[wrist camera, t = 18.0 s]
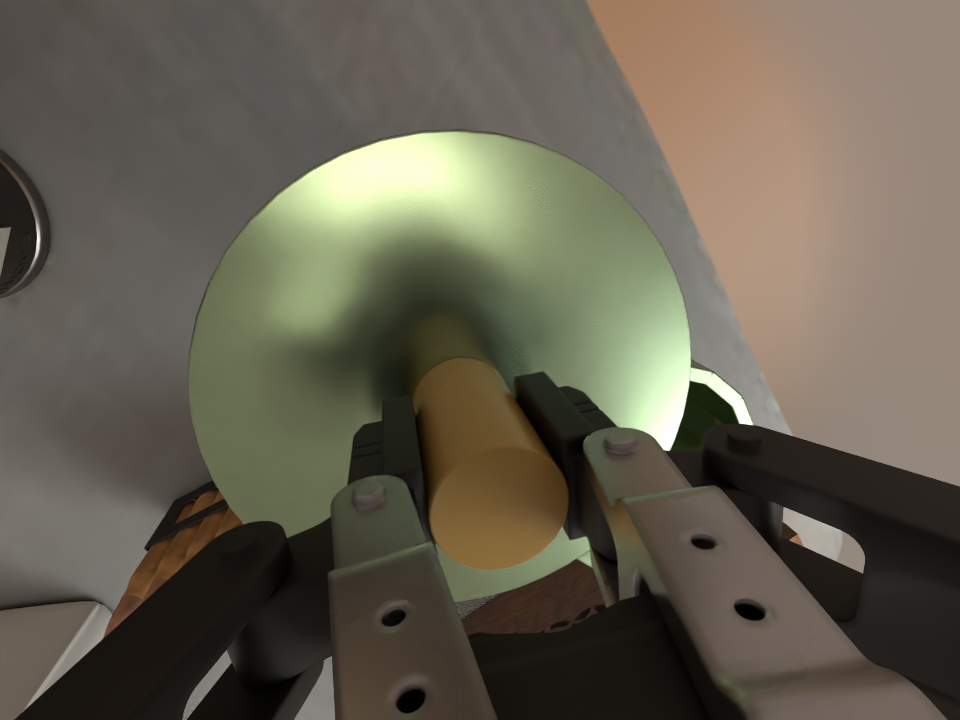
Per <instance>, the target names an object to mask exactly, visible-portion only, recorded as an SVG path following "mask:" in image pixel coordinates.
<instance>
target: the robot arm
mask: <svg viewBox="0 0 960 720" xmlns="http://www.w3.org/2000/svg"><path fill="white" fill-rule="evenodd" d="M49 247H50V225H49V219H48V215H47V212H46V209H45V206H44V204H43V201H42V199H41V197H40V195H39V193H38V191H37V190H36V188H35V186H34V185H33V183H32V182H31V180H30V179H29V178H28V177H27V175H26V174H25V173H24V172H23V171H22V169H21V168H20V167H19V166H18V165H17V164H16V163H15V162H14V161H13V160H11V159H10V158H9V157H8V156H7V155H6V154H4V153H3V152H2V151H1V150H0V298H3V297H6V296H9V295H11V294H13V293H15V292H17V291H19V290H21V289H22V288H24V287H25V286H27V285H28V284H29V283H30V282H31V281H32V280H33V279H34V278H35V277H36V276H37V275H38V273H39V272H40V270H41V269H42V267H43V265H44V263H45V261H46V258H47V255H48V252H49ZM514 389H515V398H516V400H517V402H518V403H519V405H520V407H521V408H522V410H523V411H524V413H525V414H526V416H527V418H528V419H529V421H530V422H531V424H532V425H533V427H534V429H535V430H536V432H537V433H538V435H539V437H540V438H541V440H542V441H543V443H544V444H545V446H546V448H547V449H548V451H549V452H550V454H551V455H552V457H553V459H554V460H555V462H556V463H557V465H558V467H559V468H560V470H561V471H562V473H563V475H564V477H565V479H566V482H567V485H568V491H569V507H568V513H567V516H566V520H565V522H564V524H563V529H564V531H565V533H566V534H567V536H568V538H569V540H574V539H578V538H583V537H587V539H588V540H589V545H590V560H591V565H592V568H593V571H594V574H595V576H596V579H597V582H598V585H599V588H600V591H601V594H602V597H603V600H604V603H605V605H606V609H604V610H602V611H600V612H598V613H596V614H594V615H592V616H591V617H589V618H587V619H585V620H583V621H581V622H579V623H577V624H576V625H574V626H572V627H570V628H568V629H566V630H564V631H560V632H552V633H511V634H483V635H479V636H475V637H471V638H468V637H467V635H466V632H465V629H464V627H463V624H462V621H461V618H460V616H459V613H458V610H457V607H456V605H455V602H454V599H453V597H452V594H451V591H450V588H449V586H448V583H447V580H446V578H445V575H444V572H443V569H442V567H441V564H440V561H439V557H438V550H437V544H436V542H435V541H434V539H433V536H432V534H431V532H430V528H429V524H428V515H427V510H428V501H427V494H426V487H425V479H424V472H423V465H422V458H421V451H420V443H419V436H418V429H417V422H416V415H415V410H414V405H413V399H412V396H406V397H401V398H396V399H390V400H385V401H382V421H378V422H373V423H368V424H363V426H362V427H361V428H360V429H359V430H358V431H357V432H356V434H355V435H354V436H353V444H352V452H351V459H350V467H349V475H348V483H347V486H346V487H344V488H343V489H341V490H340V491H339V492H338V493H337V494H336V495H335V496H334V498H333V499H332V501H331V504H330V512H331V517H329V518H328V519H326V520H325V521H323V522H322V523H320V524H318V525H316V526H314V527H312V528H310V529H307V530H305V531H303V532H300V533H298V534H295V535H293V536H291V537H288V538H287V537H286V533H285V530H284V528H283V527H282V526H281V525H280V524H278V523H276V522H272V521H255V522H250V523H246V524H243V525H240V526H237V527H234V528H232V529H230V530H228V531H226V532H224V533H222V534H221V535H219V536H217V537H216V538H214V539H213V540H212V541H210V542H209V543H208V544H207V545H206V546H205V547H203V548H202V549H201V550H200V551H199V552H198V553H197V554H196V555H195V556H194V557H192V558H191V559H190V560H189V561H188V562H187V563H186V564H185V565H184V566H183V567H181V568H180V569H179V570H178V571H177V572H176V573H175V574H174V575H173V576H172V577H170V578H169V579H168V580H167V581H166V582H165V583H164V584H163V585H162V586H161V587H159V588H158V589H157V590H156V591H155V592H154V593H153V594H152V595H151V596H150V597H148V598H147V599H146V600H145V601H144V602H143V603H142V604H141V605H140V606H139V607H137V608H136V609H135V610H134V611H133V612H132V613H131V614H130V615H129V616H128V617H126V618H125V619H124V620H123V621H122V622H121V623H120V624H119V625H118V626H117V627H115V628H114V629H113V630H112V631H111V632H110V633H109V634H108V635H107V636H106V637H104V638H103V639H102V640H101V641H100V642H99V643H98V644H97V645H96V646H95V647H93V648H92V649H91V650H90V651H89V652H88V653H87V654H86V655H85V656H84V657H82V658H81V659H80V660H79V661H78V662H77V663H76V664H75V665H74V666H73V667H71V668H70V669H69V670H68V671H67V672H66V673H65V674H64V675H63V676H62V677H61V678H59V679H58V680H57V681H56V682H55V683H54V684H53V685H52V686H51V687H50V688H48V689H47V690H46V691H45V692H44V693H43V694H42V695H41V696H40V697H39V698H37V699H36V700H35V701H34V702H33V703H32V704H31V705H30V706H29V707H28V708H26V709H25V710H24V711H23V712H22V713H21V714H20V715H19V716H18V717H17V718H15V719H14V720H182V718H183V713H184V709H185V706H186V704H187V701H188V699H189V697H190V695H191V694H192V692H193V690H194V689H195V688H196V686H197V685H198V684H199V682H200V681H201V680H202V679H203V678H204V676H205V675H206V674H207V673H208V672H209V670H210V669H211V668H212V667H213V665H214V664H215V663H216V662H217V661H218V659H219V658H220V657H221V656H222V654H223V653H224V652H225V651H226V650H227V651H228V654H229V656H230V659H231V661H232V663H231V664H230V666H229V667H228V668H227V669H226V671H225V672H224V673H223V674H222V676H221V677H220V678H219V680H218V681H217V682H216V683H215V685H214V686H213V687H212V688H211V690H210V691H209V692H208V693H207V695H206V696H205V697H204V698H203V700H202V701H201V702H200V704H199V705H198V706H197V707H196V709H195V710H194V711H193V712H192V714H191V715H190V716H189V717H188V719H187V720H294V719H295V717H296V715H297V714H298V712H299V710H300V709H301V707H302V705H303V704H304V702H305V700H306V699H307V697H308V695H309V694H310V692H311V690H312V689H313V687H314V685H315V684H316V682H317V680H318V678H319V676H320V674H321V672H322V669H323V664H324V660H325V659H327V658H328V657H330V656H332V665H333V684H334V703H335V720H960V487H959V486H956V485H953V484H949V483H946V482H942V481H939V480H936V479H933V478H929V477H926V476H923V475H919V474H916V473H912V472H910V471H906V470H903V469H900V468H896V467H893V466H889V465H886V464H883V463H879V462H876V461H873V460H870V459H866V458H863V457H860V456H856V455H853V454H850V453H846V452H843V451H839V450H836V449H833V448H830V447H826V446H823V445H820V444H816V443H813V442H810V441H807V440H803V439H800V438H796V437H793V436H790V435H787V434H783V433H780V432H777V431H773V430H770V429H767V428H763V427H759V426H755V425H749V424H724V425H719V426H715V427H713V428H711V429H709V430H707V431H706V432H705V434H704V435H703V450H685V451H667V450H663V448H662V447H661V446H660V444H659V443H658V442H657V440H656V439H655V438H654V437H653V436H651V435H650V434H648V433H646V432H644V431H641V430H638V429H633V428H626V427H618V426H617V425H616V424H615V423H614V422H613V421H612V420H611V419H610V418H609V417H608V416H607V415H606V414H605V413H604V412H603V411H602V410H599V407H598V406H597V405H596V404H595V403H594V402H593V403H592V400H591V399H590V398H589V397H588V396H587V395H586V394H585V393H584V392H583V391H580V390H577V389H575V388H572V387H570V386H563V387H557V385H556V384H555V383H554V382H553V381H552V380H551V379H550V378H549V376H548V375H547V374H546V373H545V372H544V371H542V372H536V373H531V374H526V375H520V376H515V378H514ZM784 507H786V508H788V509H791V510H793V511H796V512H798V513H800V514H803V515H805V516H808V517H810V518H813V519H815V520H818V521H820V522H822V523H825V524H827V525H830V526H832V527H835V528H837V529H840V530H842V531H844V532H845V533H847V534H849V535H850V536H851V537H853V538H854V539H855V540H856V541H857V542H858V543H859V545H860V546H861V548H862V549H863V551H864V554H865V566H864V572H863V574H862V573H860V572H858V571H856V570H854V569H851V568H849V567H847V566H845V565H843V564H840V563H838V562H836V561H834V560H832V559H829V558H827V557H825V556H823V555H821V554H818V553H816V552H814V551H812V550H810V549H807V548H805V547H803V546H801V545H799V544H796V543H794V542H792V541H790V540H788V539H785V538H783V537H781V530H782V519H783V508H784Z"/></svg>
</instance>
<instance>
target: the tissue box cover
mask: <svg viewBox="0 0 960 720" xmlns="http://www.w3.org/2000/svg"><path fill="white" fill-rule="evenodd" d="M781 537H783V538H785V539H788V540H790V541H792V542H794V543H796V544H799V545H801V546H803V544H802V542H801V540H800V538H799V536H798V534H797V533H796V532H794V531H793V530H792V529H791V528H790V527H788V526H787V525H786V524H785V523H784V522H782V530H781ZM803 547H804V546H803ZM604 609H606V605H605V603H604V600H603V597H602V594H601V591H600V588H599V585H598V582H597V579H596V576H595V574H594V571H593V568H591V567H589V566H588V565H586V564H584V563H582V562H581V561H579V560H577V559H575V560H574V561H572V562H571V563H569V564H568V565H566V566H564V567H562V568H560V569H558V570H556V571H555V572H553V573H551V574H549V575H547V576H545V577H543V578H541V579H538V580H536V581H534V582H531V583H529V584H526V585H524V586H521V587H519V588H516V589H513V590H509V591H506V592H503V593H502V594H500V595H499V596H497V597H496V598H494V599H493V600H491V601H490V602H488V603H487V604H485V605H484V606H482V607H481V608H479V609H478V610H476V611H475V612H473V613H472V614H470V615H469V616H467V617H466V618H464V619H463V620H461V621H462V624H463V627H464V629H465V632H466V635H467V637H468V638H471V637H475V636H479V635H483V634H511V633H552V632H560V631H564V630H566V629H568V628H570V627H572V626H574V625H576V624H577V623H579V622H581V621H583V620H585V619H587V618H589V617H591V616H592V615H594V614H596V613H598V612H600V611H602V610H604Z"/></svg>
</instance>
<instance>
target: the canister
mask: <svg viewBox="0 0 960 720" xmlns="http://www.w3.org/2000/svg"><path fill="white" fill-rule="evenodd" d="M724 424H749V425H754V424H753V422H752V419H751V416H750V414H749V411H748V409H747V406H746V404H745V401H744V398H743V397H742V395H741V394H740V393H739V392H737V391H736V390H735V389H734V388H733V387H731V386H730V385H729V384H728V383H727V382H726V381H724V380H723V379H722V378H721V377H720V376H718V375H717V374H716V373H715V372H714V371H712V370H710V369H708V368H706V367H704V366H703V365H701V364H699V363H697V362H695V361H693V360H692V359H691V370H690V382H689V390H688V395H687V400H686V405H685V409H684V414H683V417H682V420H681V423H680V426H679V429H678V432H677V435H676V438H675V441H674V443H673V445H672V447H671V450H670V451H685V450H703V435H704V434H705V432H706V431H707V430H709V429H711V428H713V427H715V426H719V425H724ZM577 560H579V561H581V562H582V563H584V564H586V565H588V566H589V567H591V568H592V565H591V560H590V550H588V551H587V552H585V553H584V554H583V555H581V556H580V557H578V558H577Z"/></svg>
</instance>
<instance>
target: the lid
mask: <svg viewBox="0 0 960 720" xmlns="http://www.w3.org/2000/svg"><path fill="white" fill-rule="evenodd" d="M690 370H691V340H690V327H689V322H688V316H687V311H686V305H685V300H684V297H683V294H682V291H681V288H680V285H679V282H678V279H677V276H676V273H675V271H674V269H673V267H672V265H671V263H670V261H669V259H668V257H667V254H666V252H665V250H664V248H663V246H662V244H661V243H660V241H659V240H658V238H657V237H656V236H655V234H654V233H653V231H652V230H651V228H650V227H649V225H648V224H647V222H646V221H645V219H644V218H643V217H642V216H641V215H640V214H639V213H638V212H637V210H636V209H635V208H634V207H633V206H632V205H631V204H630V203H629V202H628V201H627V200H626V199H625V197H624V196H623V195H622V194H621V193H619V192H618V191H617V190H616V189H615V188H613V187H612V186H611V185H610V184H608V183H607V182H606V181H605V180H603V179H602V178H601V177H600V176H598V175H597V174H596V173H595V172H593V171H591V170H589V169H588V168H586V167H584V166H583V165H581V164H579V163H578V162H576V161H574V160H573V159H571V158H569V157H567V156H566V155H564V154H561V153H559V152H556V151H554V150H551V149H549V148H546V147H544V146H541V145H539V144H537V143H534V142H531V141H527V140H523V139H519V138H515V137H511V136H507V135H503V134H499V133H493V132H483V131H472V130H462V129H451V130H430V131H417V132H412V133H407V134H402V135H396V136H391V137H386V138H381V139H378V140H375V141H372V142H370V143H367V144H364V145H361V146H358V147H355V148H352V149H350V150H347V151H344V152H342V153H340V154H338V155H336V156H334V157H332V158H330V159H328V160H327V161H325V162H323V163H321V164H319V165H317V166H315V167H313V168H311V169H309V170H308V171H306V172H305V173H304V174H302V175H301V176H299V177H298V178H297V179H295V180H294V181H293V182H291V183H290V184H288V185H287V186H286V187H284V188H283V189H281V190H280V191H279V192H277V193H276V194H275V195H274V196H273V197H272V198H271V199H270V200H269V201H268V202H267V203H266V204H265V205H264V206H263V207H262V208H261V209H260V210H259V211H258V212H257V213H256V214H255V215H254V216H253V217H252V218H251V219H250V220H249V221H248V222H247V223H246V225H245V226H244V227H243V229H242V230H241V231H240V233H239V234H238V235H237V237H236V238H235V239H234V241H233V242H232V243H231V244H230V246H229V247H228V248H227V250H226V251H225V253H224V255H223V257H222V259H221V261H220V262H219V264H218V266H217V268H216V270H215V272H214V273H213V275H212V277H211V279H210V281H209V283H208V285H207V288H206V291H205V294H204V296H203V299H202V302H201V305H200V307H199V310H198V313H197V316H196V320H195V325H194V330H193V335H192V340H191V345H190V350H189V370H188V392H189V400H190V409H191V418H192V422H193V426H194V430H195V433H196V437H197V441H198V444H199V448H200V452H201V454H202V456H203V459H204V461H205V463H206V465H207V468H208V470H209V472H210V474H211V477H212V479H213V481H214V483H215V484H216V486H217V488H218V489H219V491H220V492H221V494H222V496H223V497H224V499H225V500H226V502H227V503H228V505H229V507H230V508H231V509H232V510H233V512H234V513H235V514H236V515H237V516H238V518H239V519H240V520H241V521H242V522H243V523H244V524H246V523H250V522H255V521H272V522H276V523H278V524H280V525H281V526H282V527H283V528H284V530H285V533H286V537H287V538H288V537H291V536H293V535H295V534H298V533H300V532H303V531H305V530H307V529H310V528H312V527H314V526H316V525H318V524H320V523H322V522H323V521H325V520H326V519H328V518H329V517H331V512H330V504H331V501H332V499H333V498H334V496H335V495H336V494H337V493H338V492H339V491H340V490H341V489H343V488H344V487H346V486H347V483H348V475H349V467H350V459H351V452H352V444H353V436H354V435H355V434H356V432H357V431H358V430H359V429H360V428H361V427H362V426H363V424H368V423H373V422H378V421H382V401H385V400H390V399H396V398H401V397H406V396H412V399H413V405H414V410H415V415H416V422H417V429H418V436H419V443H420V451H421V458H422V465H423V472H424V479H425V487H426V494H427V501H428V510H427V515H428V524H429V528H430V532H431V534H432V536H433V539H434V541H435V542H436V544H437V550H438V557H439V561H440V564H441V567H442V569H443V572H444V575H445V578H446V580H447V583H448V586H449V588H450V591H451V594H452V597H453V599H454V602H459V601H467V600H472V599H478V598H483V597H488V596H492V595H496V594H499V593H503V592H506V591H509V590H513V589H516V588H519V587H521V586H524V585H526V584H529V583H531V582H534V581H536V580H538V579H541V578H543V577H545V576H547V575H549V574H551V573H553V572H555V571H556V570H558V569H560V568H562V567H564V566H566V565H568V564H569V563H571V562H572V561H574V560H575V559H577V558H578V557H580V556H581V555H583V554H584V553H585V552H587V551H588V550H590V545H589V540H588V539H587V537H583V538H578V539H574V540H569V538H568V536H567V534H566V533H565V531H564V529H563V524H564V522H565V520H566V516H567V513H568V507H569V491H568V485H567V482H566V479H565V477H564V475H563V473H562V471H561V470H560V468H559V467H558V465H557V463H556V462H555V460H554V459H553V457H552V455H551V454H550V452H549V451H548V449H547V448H546V446H545V444H544V443H543V441H542V440H541V438H540V437H539V435H538V433H537V432H536V430H535V429H534V427H533V425H532V424H531V422H530V421H529V419H528V418H527V416H526V414H525V413H524V411H523V410H522V408H521V407H520V405H519V403H518V402H517V400H516V398H515V389H514V378H515V376H520V375H526V374H531V373H536V372H542V371H544V372H545V373H546V374H547V375H548V376H549V378H550V379H551V380H552V381H553V382H554V383H555V384H556V385H557V387H563V386H570V387H572V388H575V389H577V390H580V391H583V392H584V393H585V394H586V395H587V396H588V397H589V398H590V399H591V400H592V403H593V402H594V403H595V404H596V405H597V406H598V407H599V410H602V411H603V412H604V413H605V414H606V415H607V416H608V417H609V418H610V419H611V420H612V421H613V422H614V423H615V424H616V425H617V426H618V427H626V428H633V429H638V430H641V431H644V432H646V433H648V434H650V435H651V436H653V437H654V438H655V439H656V440H657V442H658V443H659V444H660V446H661V447H662V448H663V450H667V451H670V450H671V447H672V445H673V443H674V441H675V438H676V435H677V432H678V429H679V426H680V423H681V420H682V417H683V414H684V409H685V405H686V400H687V395H688V390H689V382H690Z"/></svg>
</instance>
